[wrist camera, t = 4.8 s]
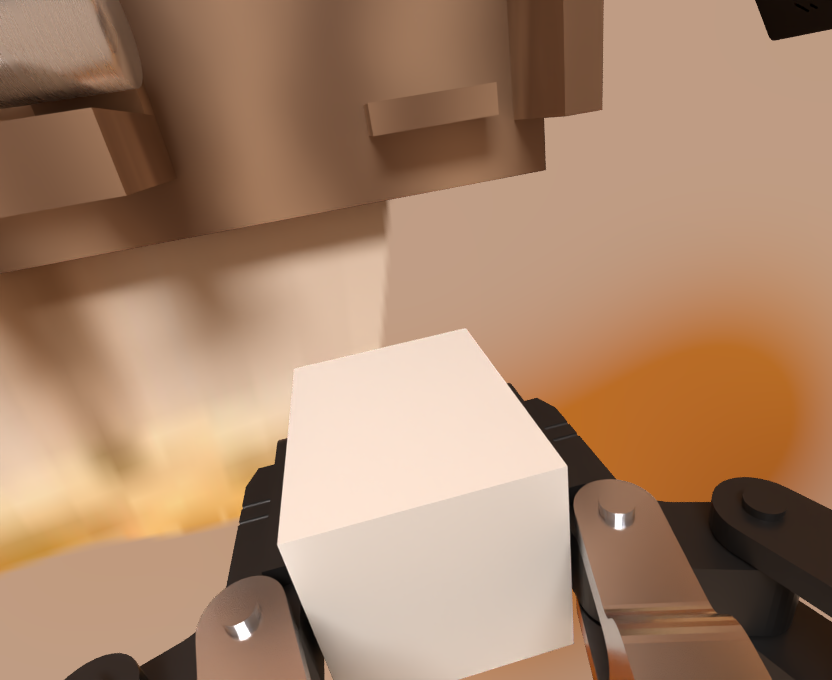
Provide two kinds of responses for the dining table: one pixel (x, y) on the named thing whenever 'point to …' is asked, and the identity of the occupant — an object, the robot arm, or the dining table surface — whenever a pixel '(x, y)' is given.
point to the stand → (291, 116)
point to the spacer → (423, 515)
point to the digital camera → (795, 17)
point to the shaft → (64, 50)
